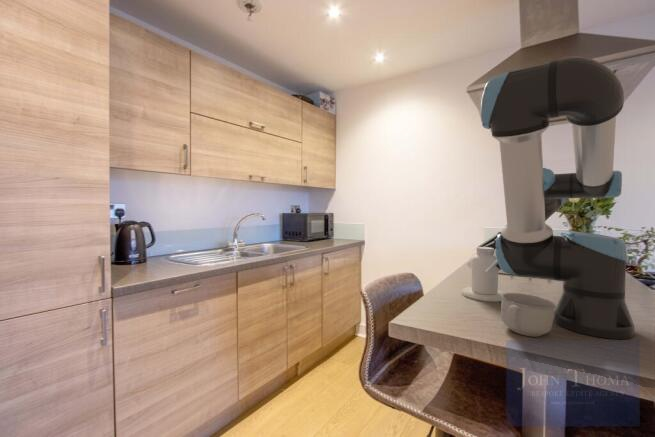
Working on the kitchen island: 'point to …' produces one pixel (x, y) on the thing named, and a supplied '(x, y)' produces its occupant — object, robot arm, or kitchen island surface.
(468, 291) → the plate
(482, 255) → the pill bottle
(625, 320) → the robot arm
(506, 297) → the teacup
